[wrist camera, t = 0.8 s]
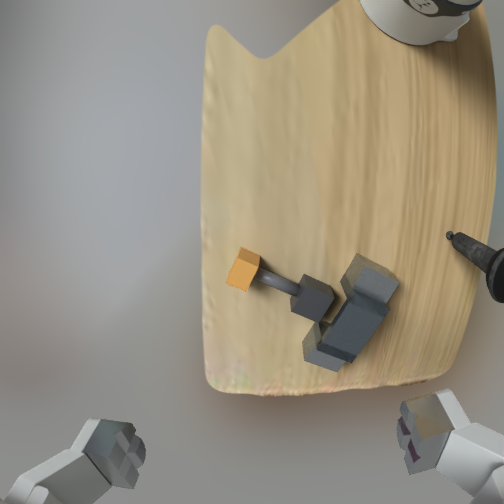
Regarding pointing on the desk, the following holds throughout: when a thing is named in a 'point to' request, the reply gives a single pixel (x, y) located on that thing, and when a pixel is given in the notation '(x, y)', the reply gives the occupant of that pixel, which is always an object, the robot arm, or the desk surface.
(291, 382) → the desk surface
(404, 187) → the desk surface
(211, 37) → the desk surface
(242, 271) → the plug
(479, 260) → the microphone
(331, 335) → the block
